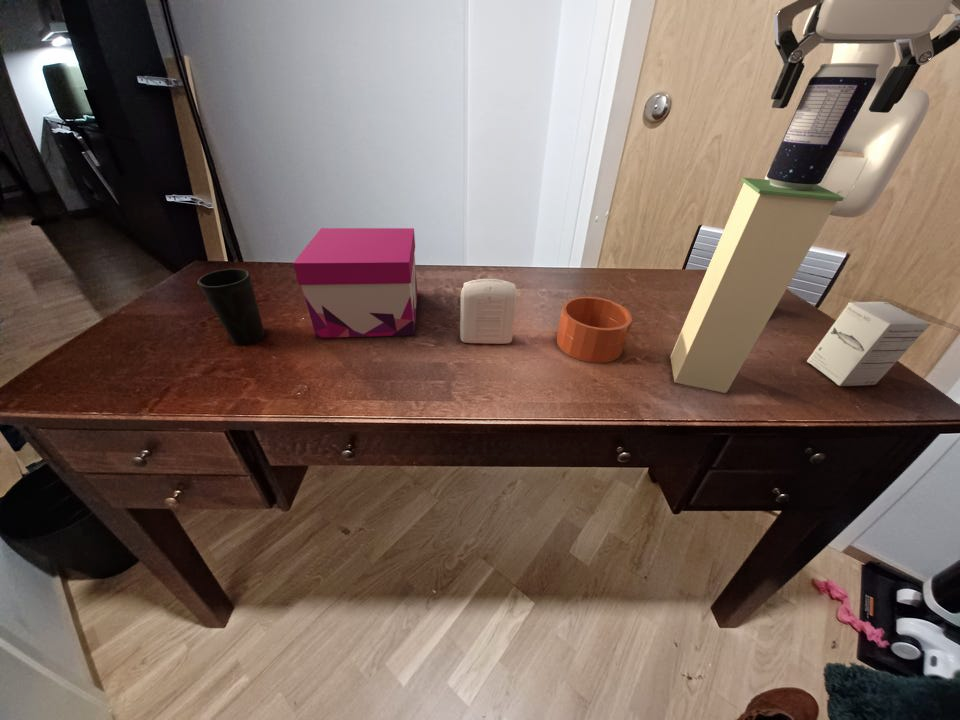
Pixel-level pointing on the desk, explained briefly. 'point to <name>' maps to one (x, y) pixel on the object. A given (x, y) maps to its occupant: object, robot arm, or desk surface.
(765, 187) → the mat
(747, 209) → the plant stand
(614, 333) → the pot
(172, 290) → the desk surface
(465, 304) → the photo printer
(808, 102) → the beverage can
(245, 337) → the cup
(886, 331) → the white packaging box
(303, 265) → the decorative box
